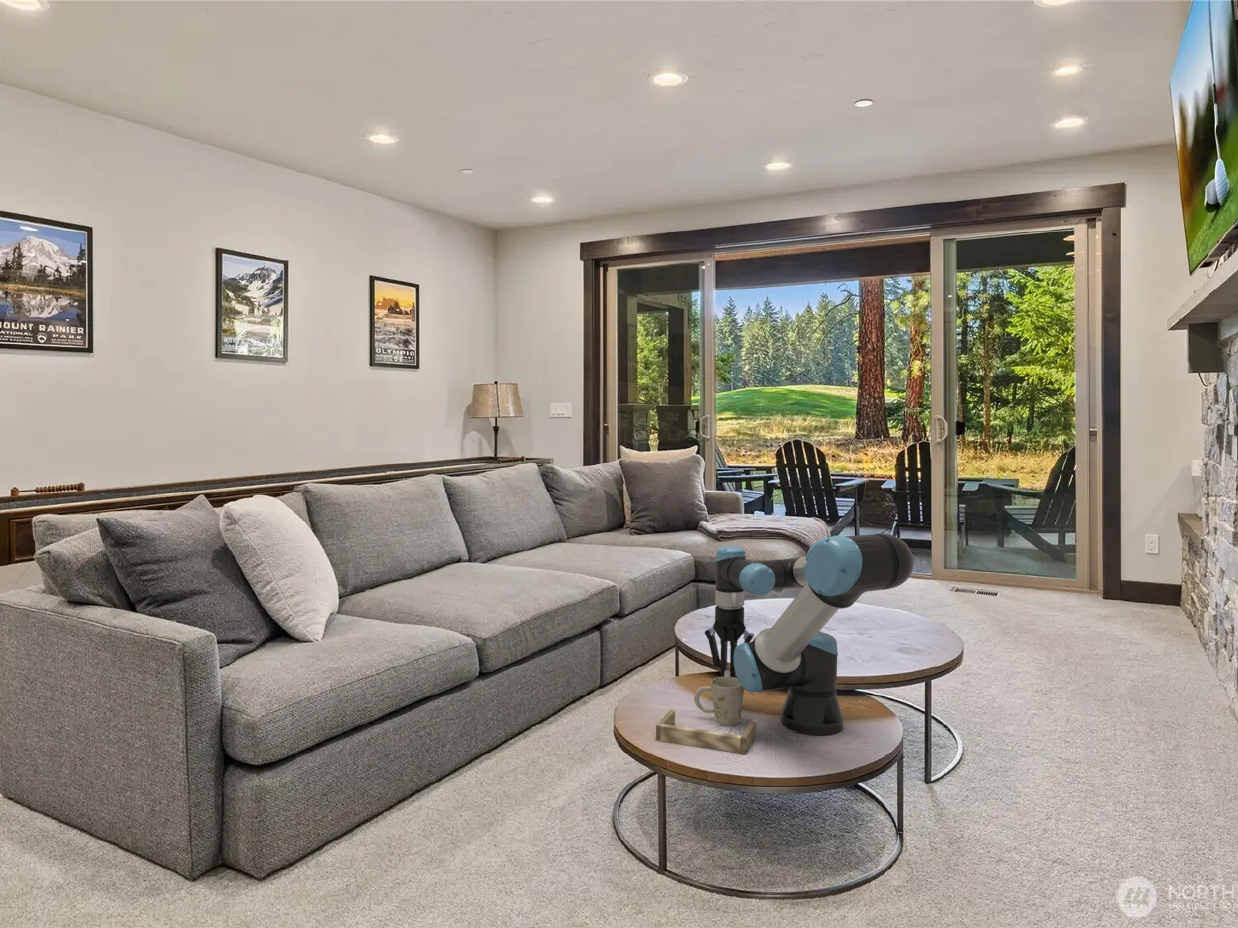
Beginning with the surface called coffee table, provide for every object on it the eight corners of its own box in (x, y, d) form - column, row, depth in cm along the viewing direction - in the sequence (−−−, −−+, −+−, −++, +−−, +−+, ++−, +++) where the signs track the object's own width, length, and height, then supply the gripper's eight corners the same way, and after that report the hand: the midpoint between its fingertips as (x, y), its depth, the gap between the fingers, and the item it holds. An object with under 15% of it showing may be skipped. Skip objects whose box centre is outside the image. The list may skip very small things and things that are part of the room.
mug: (743, 728, 199) (743, 688, 198) (692, 724, 201) (692, 685, 200) (744, 716, 207) (745, 677, 206) (695, 712, 209) (696, 674, 209)
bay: (755, 736, 194) (755, 721, 194) (745, 754, 184) (745, 739, 184) (670, 723, 202) (670, 709, 202) (655, 739, 192) (656, 725, 191)
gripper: (757, 604, 213) (755, 692, 214) (709, 600, 217) (707, 685, 219) (751, 611, 206) (749, 702, 207) (701, 606, 210) (700, 695, 212)
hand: (728, 693), depth 213 cm, fingers closed
